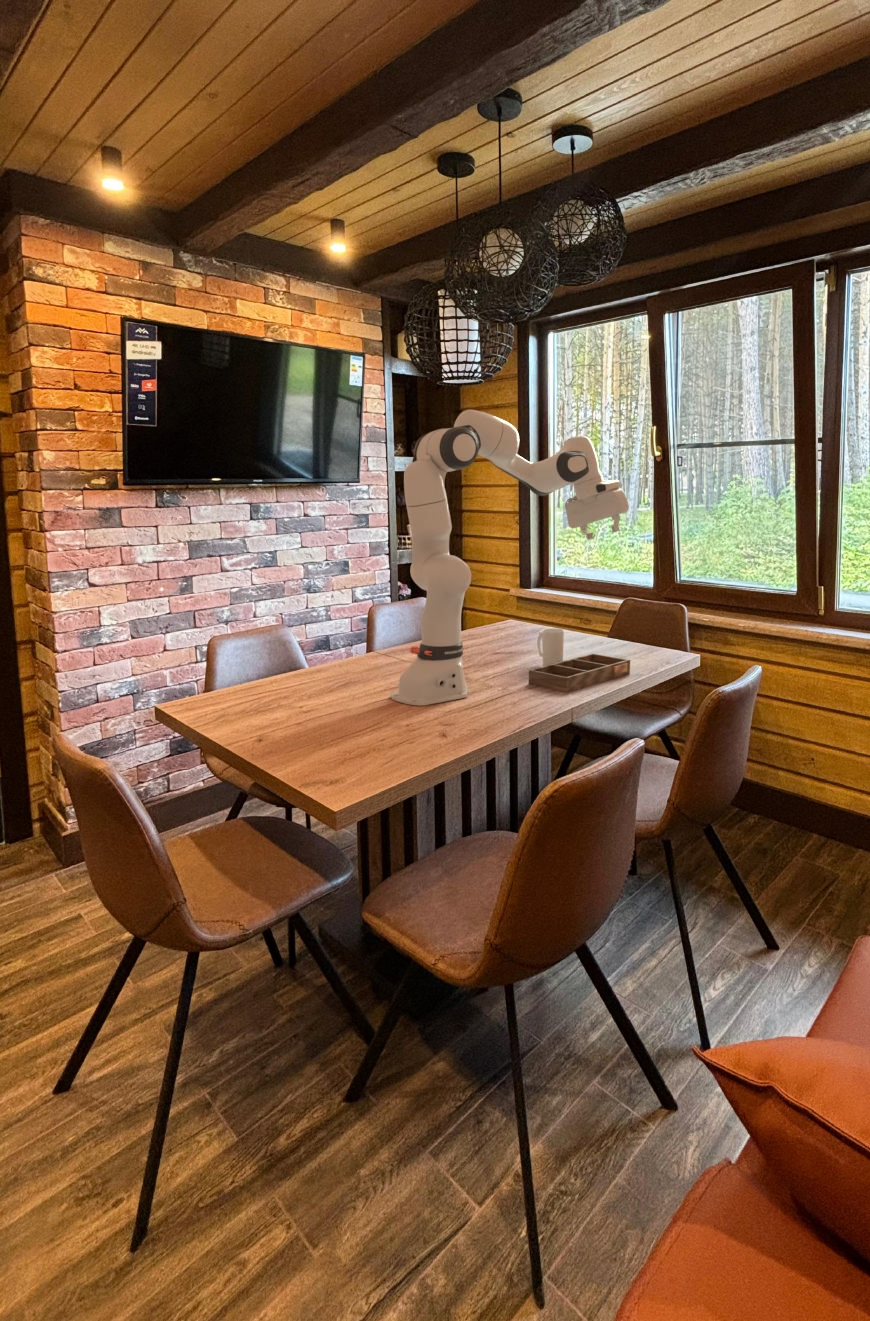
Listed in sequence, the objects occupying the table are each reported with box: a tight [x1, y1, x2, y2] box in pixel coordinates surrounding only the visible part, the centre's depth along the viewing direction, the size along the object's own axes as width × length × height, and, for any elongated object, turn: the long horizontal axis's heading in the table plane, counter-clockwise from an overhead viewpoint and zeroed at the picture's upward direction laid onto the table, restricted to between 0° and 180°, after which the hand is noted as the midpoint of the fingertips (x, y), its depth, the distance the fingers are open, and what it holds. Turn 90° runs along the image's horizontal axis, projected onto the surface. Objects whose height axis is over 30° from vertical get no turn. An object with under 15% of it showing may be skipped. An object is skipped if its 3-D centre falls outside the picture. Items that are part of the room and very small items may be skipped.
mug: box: [536, 627, 565, 667], centre depth 237 cm, size 10×7×12 cm, turn 38°
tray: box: [528, 653, 631, 693], centre depth 221 cm, size 30×15×4 cm, turn 131°
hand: (603, 535), depth 225 cm, fingers open, 8 cm apart
